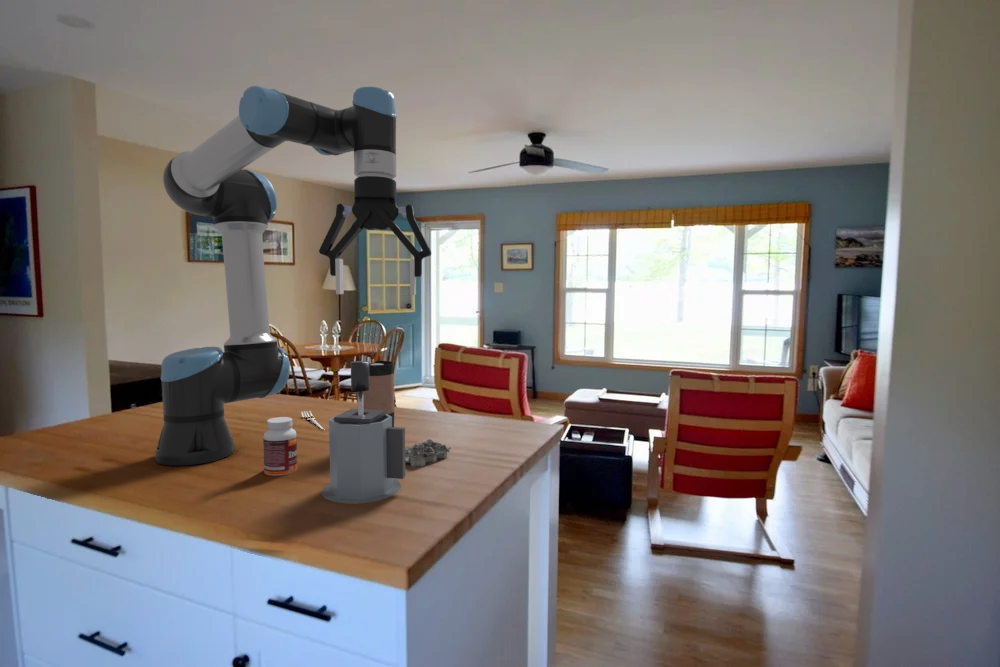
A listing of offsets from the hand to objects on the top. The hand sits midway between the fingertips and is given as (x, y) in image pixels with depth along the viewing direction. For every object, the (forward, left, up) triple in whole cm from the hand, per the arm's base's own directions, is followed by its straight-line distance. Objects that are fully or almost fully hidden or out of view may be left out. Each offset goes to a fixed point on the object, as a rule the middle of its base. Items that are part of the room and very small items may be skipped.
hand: (376, 294), depth 102 cm
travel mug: (-9, +20, -36) cm, 42 cm away
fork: (-35, +38, -37) cm, 63 cm away
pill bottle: (-21, 0, -36) cm, 42 cm away
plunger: (-1, -6, -33) cm, 33 cm away
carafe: (+1, -6, -35) cm, 36 cm away
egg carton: (+5, +13, -36) cm, 39 cm away
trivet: (-1, -6, -36) cm, 36 cm away
